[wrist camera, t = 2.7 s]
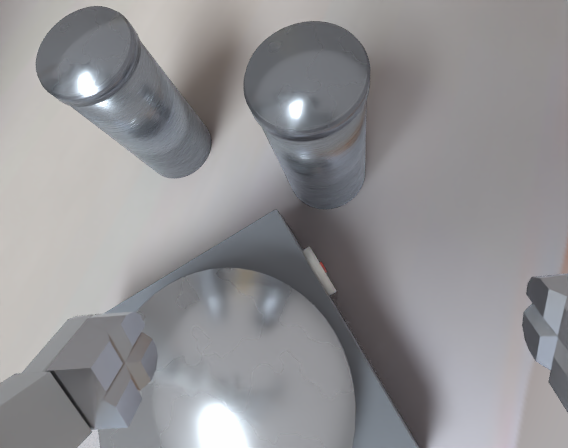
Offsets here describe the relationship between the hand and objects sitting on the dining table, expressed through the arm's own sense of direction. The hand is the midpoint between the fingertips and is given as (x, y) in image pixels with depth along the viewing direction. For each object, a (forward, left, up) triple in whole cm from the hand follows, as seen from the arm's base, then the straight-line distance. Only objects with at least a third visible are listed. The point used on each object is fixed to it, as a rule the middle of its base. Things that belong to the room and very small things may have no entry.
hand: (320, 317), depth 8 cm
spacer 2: (-8, +4, -12) cm, 15 cm away
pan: (0, -6, -8) cm, 10 cm away
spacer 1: (-15, -3, -12) cm, 19 cm away
